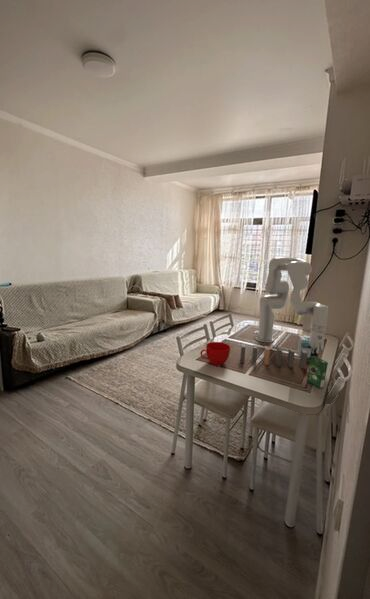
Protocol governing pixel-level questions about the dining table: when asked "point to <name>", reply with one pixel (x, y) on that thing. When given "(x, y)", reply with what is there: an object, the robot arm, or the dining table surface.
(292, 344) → the dining table surface
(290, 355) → the domino
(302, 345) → the light bulb box
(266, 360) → the domino
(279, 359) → the domino
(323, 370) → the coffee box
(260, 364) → the dining table surface
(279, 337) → the dining table surface
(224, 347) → the ceramic cup
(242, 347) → the domino
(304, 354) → the domino
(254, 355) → the domino
